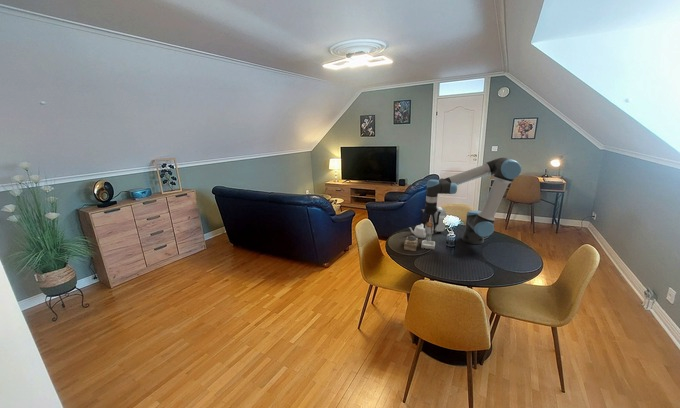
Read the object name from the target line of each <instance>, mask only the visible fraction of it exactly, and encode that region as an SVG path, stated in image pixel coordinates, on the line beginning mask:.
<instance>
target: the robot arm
mask: <svg viewBox="0 0 680 408" xmlns="http://www.w3.org/2000/svg"><path fill="white" fill-rule="evenodd" d="M521 172H522V165H521V164H520V163H519V162H518V161H517V160H515V159H511V158H507V157H499V158H494V159H492V160H490V161H487V162H484V164H483V165H479V166H477V167H473V168H471V169H468V170H465V171H463V172H459V173H456V174H454V175H451V176H449V177H445V178H438V179H428V180H427V183H426V194H425V195H426V196H425V207H424V209H422V208H421V209H420V214H421V215H420V217H421V219H420V220H421V221H420V224H423V225H424V226H423V228H425V233H426V223H427V219H428V217H429V216H430V215H432V217H433V223H434V224H433V227H432V235H433V234H434V229H435V226H436V225H438V223H439V215H440V213H441V211H438V210H437V207H438V195H439V194H441V195H442V194H443V195H444V194H445V195H455V194H457V191H458V186H459V185H462V184H465V183H467V182H471V181H473V180H476V179H477V180H478V179H479V178H483V177H486V176H492V175H493V179H494V181H493V183H492V184H491V188H490V190H489V192H488V194H487V197H486V200H485V201H484V203H483V206H482V208H481V210H469V211H467V213H466V219H465V228H464V231H463V233H462V236H461V240H462V241H463V242H464V243H467V244H470V245H472V244H473V245H481V244H483V243H485V238H484V237H488V236H491V235H492V234H494V231H495V226H494V223H495V221H496V219H495V215H496V214H497V213H496V212H497V211H498V208H499V207H500V204H501V202H502V200H503V197H504V195H505V193H506V191H507V188H508V186H509V185H510V184H512V183H513V182H514V179H516V178H519V177H518V176H520V175H521ZM424 212H425V213H426V215H425V218H424ZM436 212H437V214H438V215H437V223H436V222H435V216H434V214H435V213H436Z"/></svg>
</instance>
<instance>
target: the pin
mask: <svg viewBox="0 0 680 408" xmlns="http://www.w3.org/2000/svg"><path fill="white" fill-rule="evenodd" d="M432 227H433V223H431V221H426V238H425V240H426V241H432V237H433V236H432V235H433V234H432Z"/></svg>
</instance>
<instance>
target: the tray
mask: <svg viewBox="0 0 680 408" xmlns="http://www.w3.org/2000/svg"><path fill="white" fill-rule="evenodd" d="M421 240H422V239H421ZM435 247H436V241H433V240H431V241H426V239H424V240H422V241H421V248H420V249H424V248H425V249H426V250H433V251H435Z"/></svg>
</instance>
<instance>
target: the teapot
mask: <svg viewBox="0 0 680 408" xmlns="http://www.w3.org/2000/svg"><path fill="white" fill-rule="evenodd" d="M423 226H424V224H423V223H420V224H418V225H417V224H416V226H415V227H414V230H413V228H412V227H409V229H410V232H411V234H413V236H415V237H416V238H418V239H426V233H425V228H423Z"/></svg>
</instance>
